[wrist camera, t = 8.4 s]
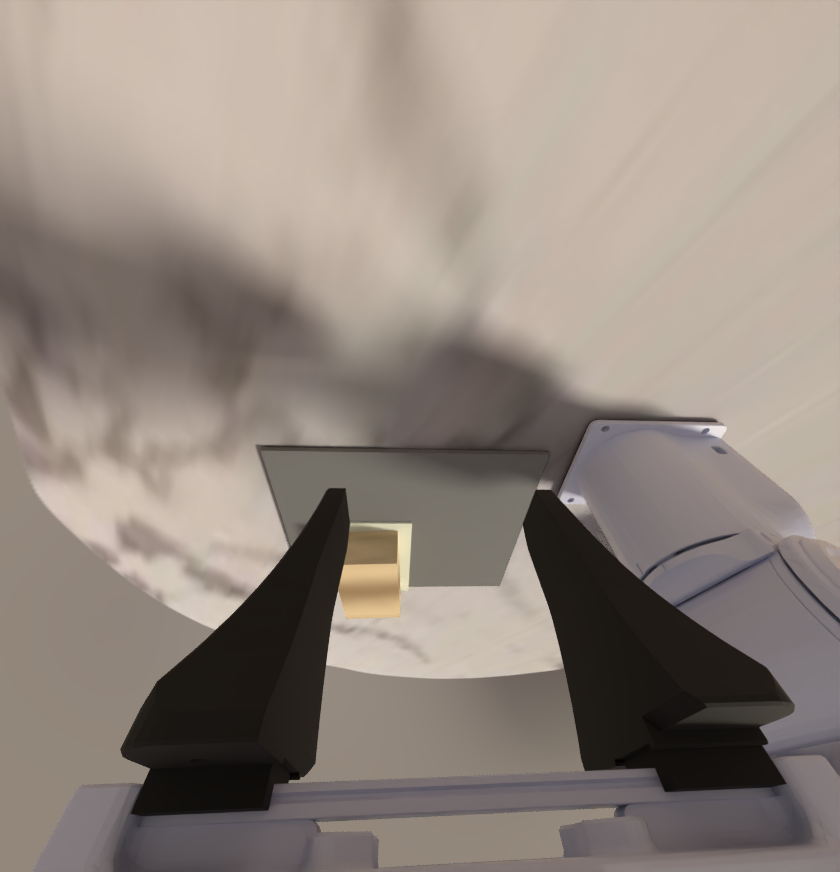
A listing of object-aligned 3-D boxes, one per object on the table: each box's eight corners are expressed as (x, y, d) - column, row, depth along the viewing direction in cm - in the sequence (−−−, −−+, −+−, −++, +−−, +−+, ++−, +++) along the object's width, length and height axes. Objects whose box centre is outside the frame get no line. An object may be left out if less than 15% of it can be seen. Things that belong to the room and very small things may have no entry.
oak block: (400, 585, 33) (400, 616, 31) (350, 587, 33) (346, 618, 31) (397, 530, 28) (397, 563, 25) (337, 532, 28) (331, 565, 25)
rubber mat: (547, 451, 24) (550, 456, 23) (497, 584, 35) (499, 590, 34) (262, 446, 23) (259, 452, 22) (305, 586, 34) (304, 591, 33)
